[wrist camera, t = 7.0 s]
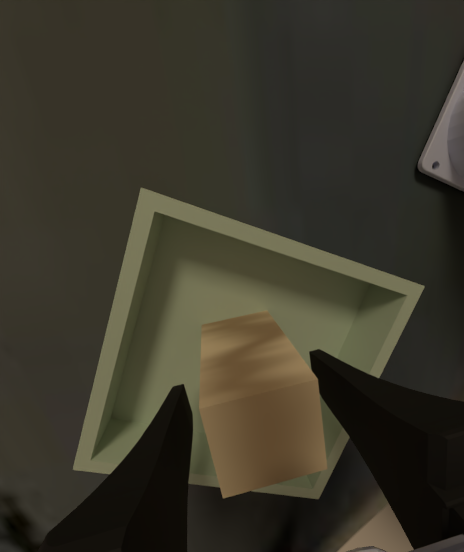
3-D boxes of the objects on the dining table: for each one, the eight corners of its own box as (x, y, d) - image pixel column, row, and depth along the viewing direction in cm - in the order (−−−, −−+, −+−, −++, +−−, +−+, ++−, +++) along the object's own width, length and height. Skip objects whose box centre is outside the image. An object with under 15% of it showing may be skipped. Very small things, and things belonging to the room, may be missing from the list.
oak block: (267, 310, 15) (317, 378, 8) (276, 367, 16) (327, 468, 9) (201, 324, 15) (198, 408, 8) (215, 382, 16) (223, 498, 9)
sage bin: (378, 273, 16) (424, 286, 13) (298, 450, 19) (318, 499, 16) (157, 197, 13) (141, 187, 10) (100, 418, 16) (72, 469, 13)
